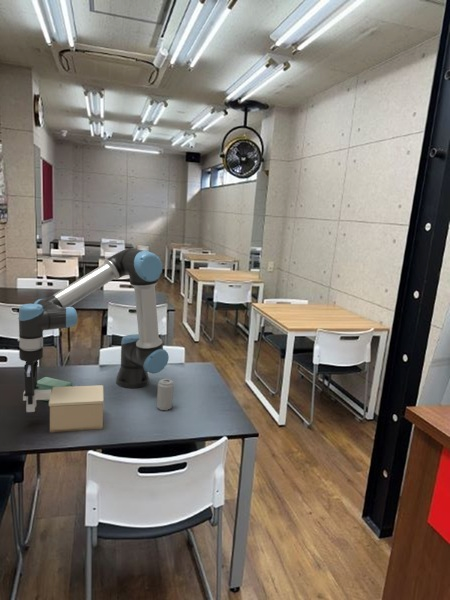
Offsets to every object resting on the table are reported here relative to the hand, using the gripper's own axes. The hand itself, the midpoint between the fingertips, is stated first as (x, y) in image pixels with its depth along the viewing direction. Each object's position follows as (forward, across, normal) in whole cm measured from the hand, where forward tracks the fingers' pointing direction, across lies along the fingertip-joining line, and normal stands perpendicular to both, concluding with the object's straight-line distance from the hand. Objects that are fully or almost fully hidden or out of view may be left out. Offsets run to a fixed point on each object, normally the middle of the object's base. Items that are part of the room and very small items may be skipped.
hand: (31, 408), depth 146 cm
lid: (-4, 0, +11) cm, 12 cm away
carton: (+6, 0, +16) cm, 17 cm away
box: (+6, -21, +5) cm, 23 cm away
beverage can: (+6, -7, +50) cm, 51 cm away
